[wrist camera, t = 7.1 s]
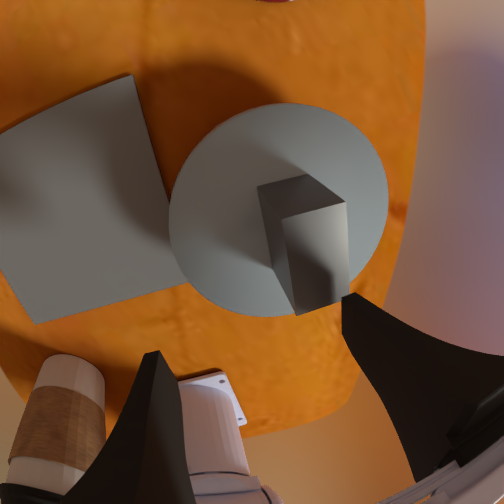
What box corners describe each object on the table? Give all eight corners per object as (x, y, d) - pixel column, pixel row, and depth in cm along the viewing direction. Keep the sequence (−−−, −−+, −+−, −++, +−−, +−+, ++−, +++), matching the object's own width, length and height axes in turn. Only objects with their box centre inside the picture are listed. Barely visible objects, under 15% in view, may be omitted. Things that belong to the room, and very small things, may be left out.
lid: (379, 274, 19) (418, 318, 15) (205, 329, 18) (216, 390, 14) (372, 89, 13) (434, 99, 9) (138, 137, 12) (120, 160, 8)
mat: (194, 276, 21) (195, 280, 20) (36, 321, 20) (34, 324, 19) (133, 74, 14) (132, 74, 14) (-43, 162, 13) (-46, 164, 13)
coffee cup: (12, 350, 20) (-29, 508, 8) (89, 333, 21) (65, 531, 8) (62, 407, 25) (51, 545, 12) (134, 397, 26) (142, 554, 13)
